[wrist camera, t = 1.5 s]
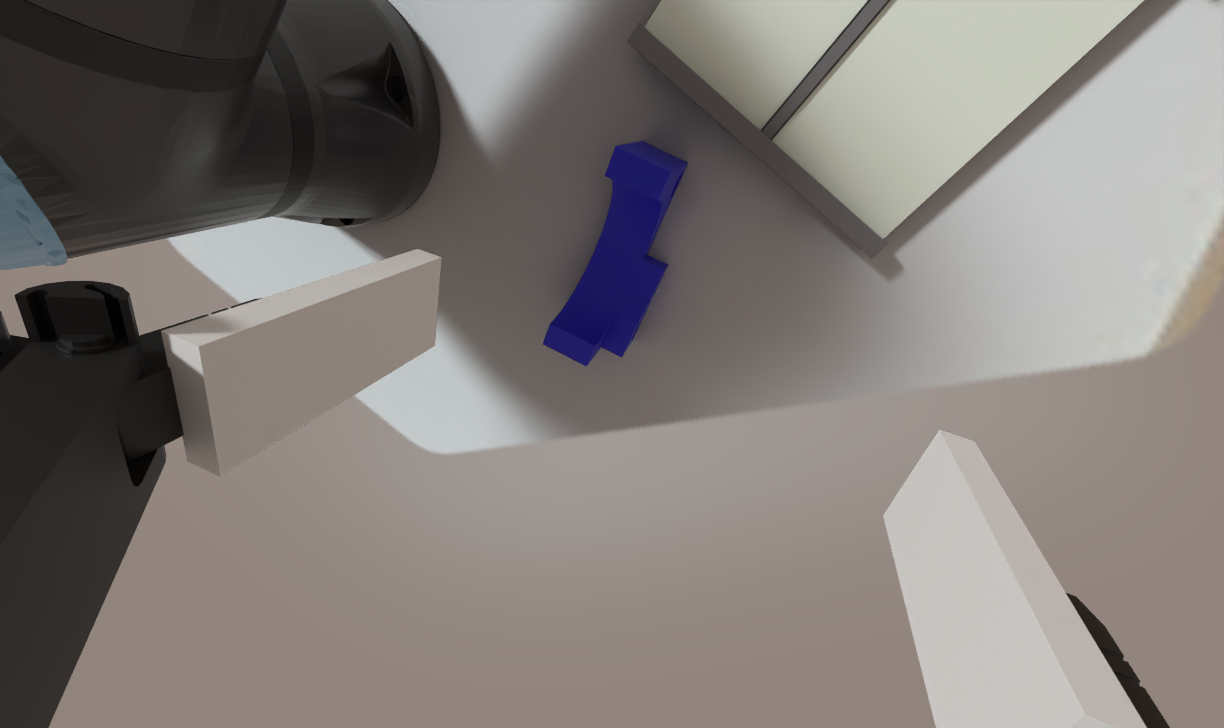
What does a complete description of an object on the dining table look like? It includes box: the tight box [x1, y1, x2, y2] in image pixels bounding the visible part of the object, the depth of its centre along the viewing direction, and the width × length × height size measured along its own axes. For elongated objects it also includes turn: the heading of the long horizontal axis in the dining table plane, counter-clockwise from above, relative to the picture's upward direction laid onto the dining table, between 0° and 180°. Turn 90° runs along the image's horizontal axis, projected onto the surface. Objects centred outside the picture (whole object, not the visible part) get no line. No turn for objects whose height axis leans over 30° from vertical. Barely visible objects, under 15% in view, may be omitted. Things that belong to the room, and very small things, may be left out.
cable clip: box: [543, 141, 688, 366], centre depth 31 cm, size 12×4×6 cm, turn 157°
